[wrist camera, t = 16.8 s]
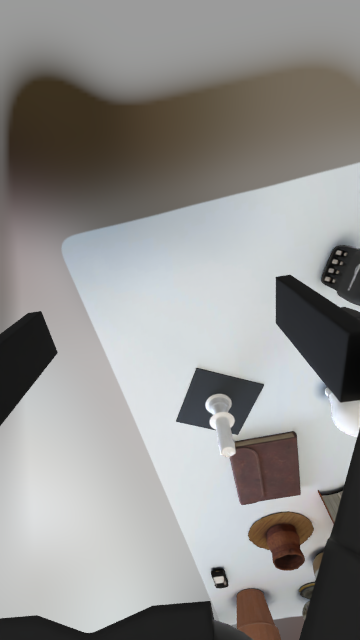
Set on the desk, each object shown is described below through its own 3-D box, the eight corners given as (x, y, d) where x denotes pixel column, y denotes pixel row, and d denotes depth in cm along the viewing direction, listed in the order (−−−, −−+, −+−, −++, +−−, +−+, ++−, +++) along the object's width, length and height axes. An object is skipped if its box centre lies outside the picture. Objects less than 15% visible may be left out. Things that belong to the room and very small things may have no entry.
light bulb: (350, 373, 51) (392, 414, 41) (342, 399, 54) (380, 445, 44) (316, 374, 51) (349, 415, 41) (310, 400, 54) (340, 446, 44)
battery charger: (330, 241, 41) (382, 254, 31) (353, 245, 41) (412, 260, 31) (313, 283, 44) (355, 309, 34) (334, 287, 44) (383, 314, 34)
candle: (234, 395, 53) (249, 446, 42) (227, 415, 55) (239, 468, 44) (208, 391, 53) (217, 441, 42) (202, 411, 55) (208, 464, 44)
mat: (176, 420, 56) (176, 421, 56) (196, 367, 51) (196, 368, 50) (237, 434, 58) (237, 434, 58) (263, 384, 52) (264, 385, 52)
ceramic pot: (235, 528, 72) (241, 559, 66) (294, 502, 68) (306, 534, 62) (268, 556, 78) (276, 587, 72) (323, 534, 74) (337, 566, 68)
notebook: (294, 431, 58) (298, 438, 56) (298, 488, 66) (302, 496, 64) (226, 442, 59) (228, 450, 57) (238, 497, 67) (240, 505, 65)
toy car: (228, 582, 84) (230, 593, 82) (216, 583, 85) (217, 595, 82) (223, 566, 80) (224, 577, 78) (210, 567, 81) (211, 579, 78)
